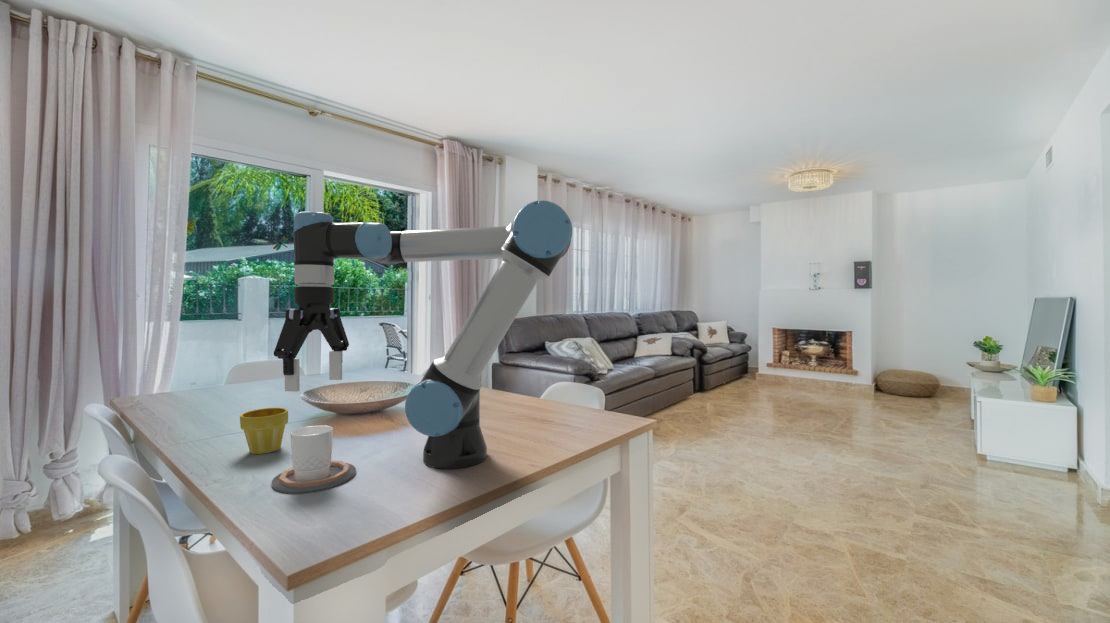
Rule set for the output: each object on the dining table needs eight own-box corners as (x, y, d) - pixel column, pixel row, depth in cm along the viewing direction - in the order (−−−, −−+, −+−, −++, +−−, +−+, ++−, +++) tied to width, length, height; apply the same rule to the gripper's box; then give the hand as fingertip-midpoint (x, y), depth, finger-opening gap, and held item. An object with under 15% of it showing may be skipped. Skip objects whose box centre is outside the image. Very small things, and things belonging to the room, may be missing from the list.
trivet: (370, 466, 104) (370, 460, 104) (324, 496, 88) (324, 488, 88) (308, 462, 107) (308, 456, 107) (252, 490, 91) (252, 483, 91)
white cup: (315, 485, 92) (314, 436, 91) (281, 482, 93) (281, 434, 93) (341, 471, 99) (340, 426, 99) (310, 468, 101) (309, 424, 101)
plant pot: (235, 459, 109) (235, 418, 108) (245, 446, 118) (245, 409, 118) (285, 453, 113) (285, 414, 113) (291, 441, 122) (290, 405, 122)
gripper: (335, 288, 110) (336, 375, 110) (250, 283, 85) (252, 396, 85) (364, 287, 108) (365, 376, 109) (286, 283, 84) (287, 397, 84)
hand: (315, 385), depth 97 cm, fingers open, 13 cm apart
